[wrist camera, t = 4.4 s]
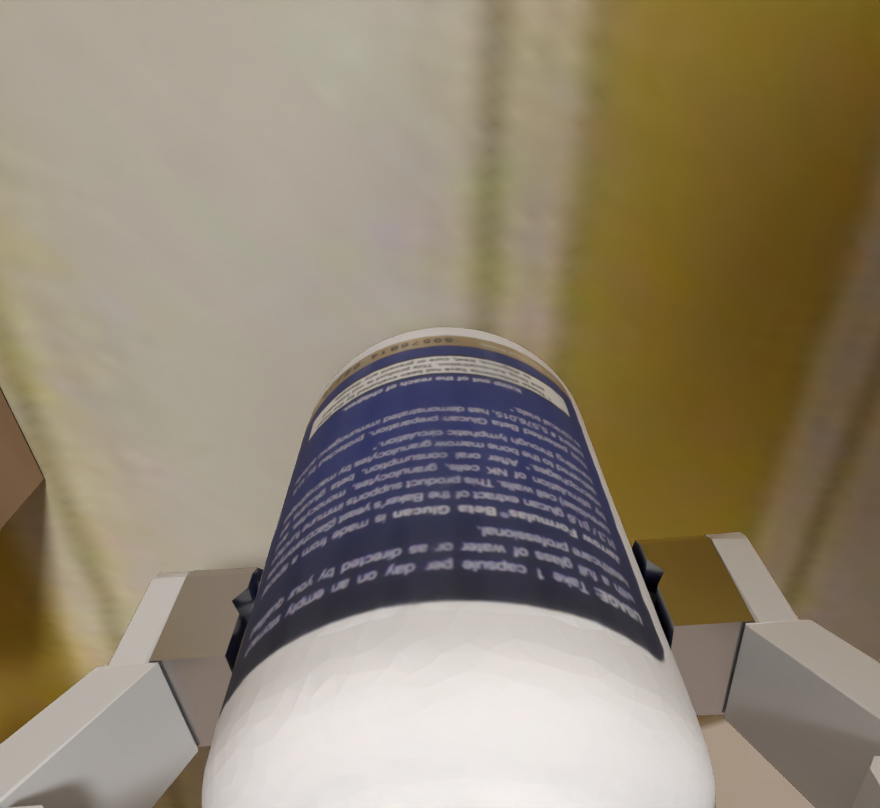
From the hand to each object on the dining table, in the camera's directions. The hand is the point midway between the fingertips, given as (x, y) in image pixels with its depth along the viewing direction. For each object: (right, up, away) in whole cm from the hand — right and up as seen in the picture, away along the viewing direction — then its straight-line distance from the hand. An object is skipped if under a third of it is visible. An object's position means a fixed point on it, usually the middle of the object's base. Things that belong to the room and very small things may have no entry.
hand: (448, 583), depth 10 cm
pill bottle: (0, +2, +3) cm, 4 cm away
